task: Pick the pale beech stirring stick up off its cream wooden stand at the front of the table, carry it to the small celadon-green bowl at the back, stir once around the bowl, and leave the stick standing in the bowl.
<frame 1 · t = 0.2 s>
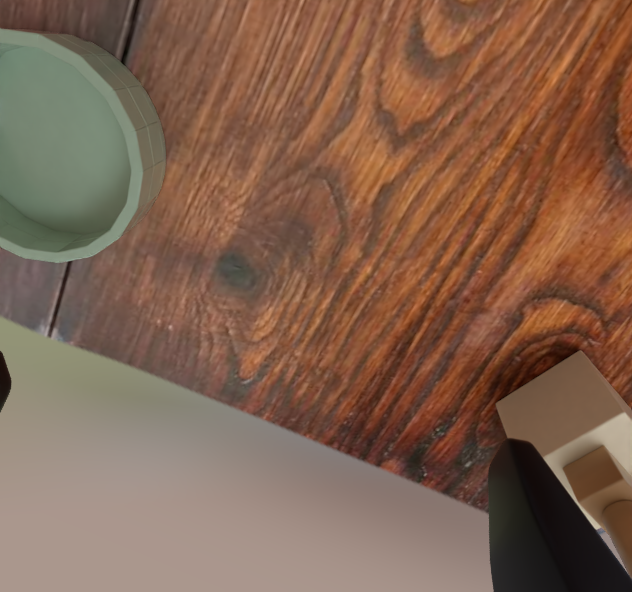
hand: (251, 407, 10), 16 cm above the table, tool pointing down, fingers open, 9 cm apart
bowl: (67, 143, 24), on the table
stick stand: (564, 408, 28), on the table
stirring stick: (602, 478, 23), point 5 cm above the table, touching stick stand
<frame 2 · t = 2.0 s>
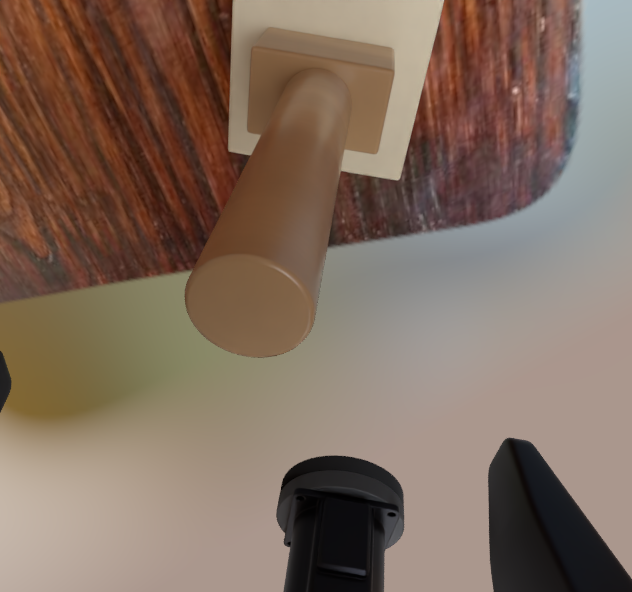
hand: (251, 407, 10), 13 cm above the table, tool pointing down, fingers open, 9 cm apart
stick stand: (340, 33, 18), on the table
stirring stick: (325, 78, 14), point 5 cm above the table, touching stick stand
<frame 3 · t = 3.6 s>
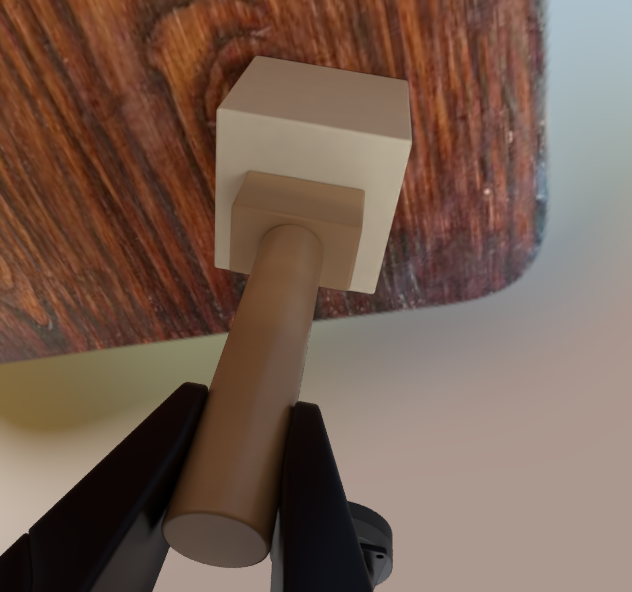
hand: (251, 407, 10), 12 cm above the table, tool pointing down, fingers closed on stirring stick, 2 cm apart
stick stand: (321, 140, 19), on the table
stirring stick: (302, 211, 15), point 5 cm above the table, touching gripper, stick stand
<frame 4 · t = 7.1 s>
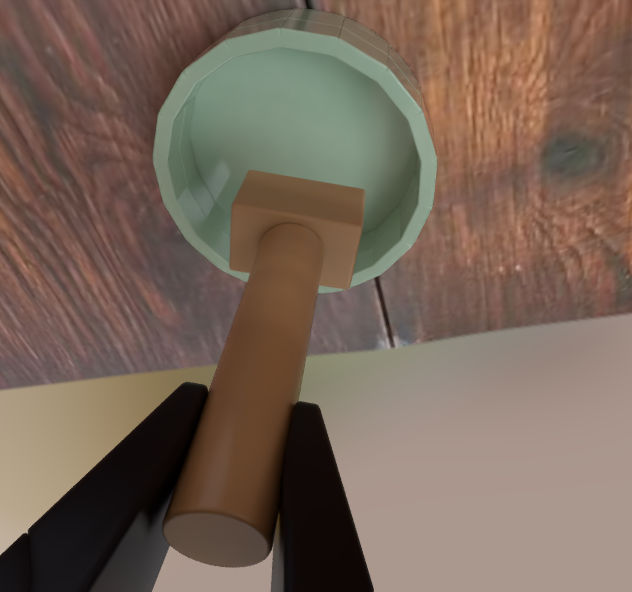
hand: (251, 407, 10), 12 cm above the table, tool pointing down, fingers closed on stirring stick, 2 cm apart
bowl: (304, 146, 20), on the table
stirring stick: (303, 210, 15), point 5 cm above the table, touching gripper
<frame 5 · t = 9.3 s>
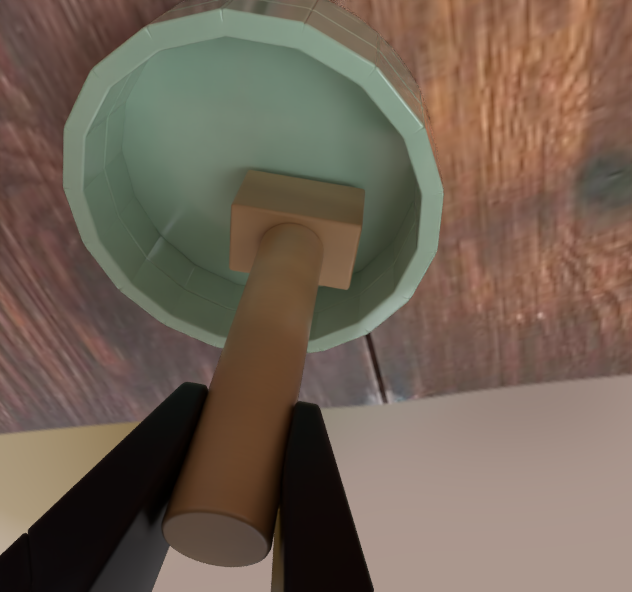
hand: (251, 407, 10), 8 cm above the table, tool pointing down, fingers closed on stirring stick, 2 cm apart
bowl: (271, 166, 15), on the table
stirring stick: (302, 210, 15), point 1 cm above the table, touching gripper
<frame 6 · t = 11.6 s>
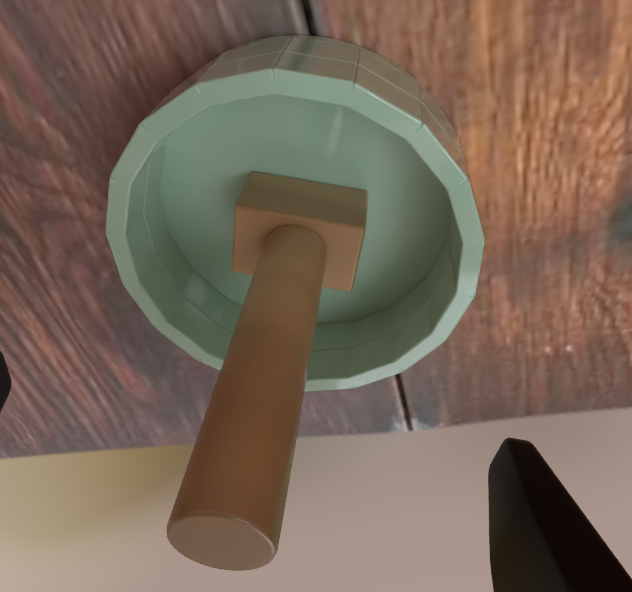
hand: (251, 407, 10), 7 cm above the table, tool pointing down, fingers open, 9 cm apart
bowl: (305, 205, 16), on the table
stirring stick: (305, 212, 15), resting on bowl
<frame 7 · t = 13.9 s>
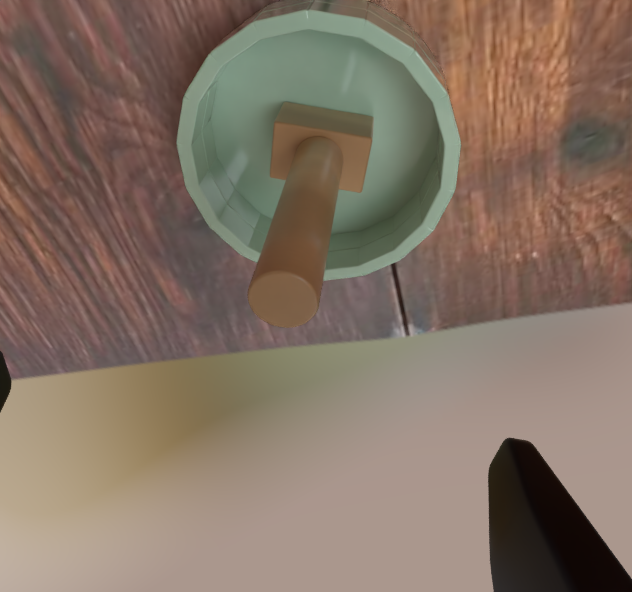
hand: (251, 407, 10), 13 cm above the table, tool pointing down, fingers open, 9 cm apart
bowl: (324, 131, 20), on the table
stirring stick: (325, 135, 19), resting on bowl
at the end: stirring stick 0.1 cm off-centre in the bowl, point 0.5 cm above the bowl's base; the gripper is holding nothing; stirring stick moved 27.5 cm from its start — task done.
